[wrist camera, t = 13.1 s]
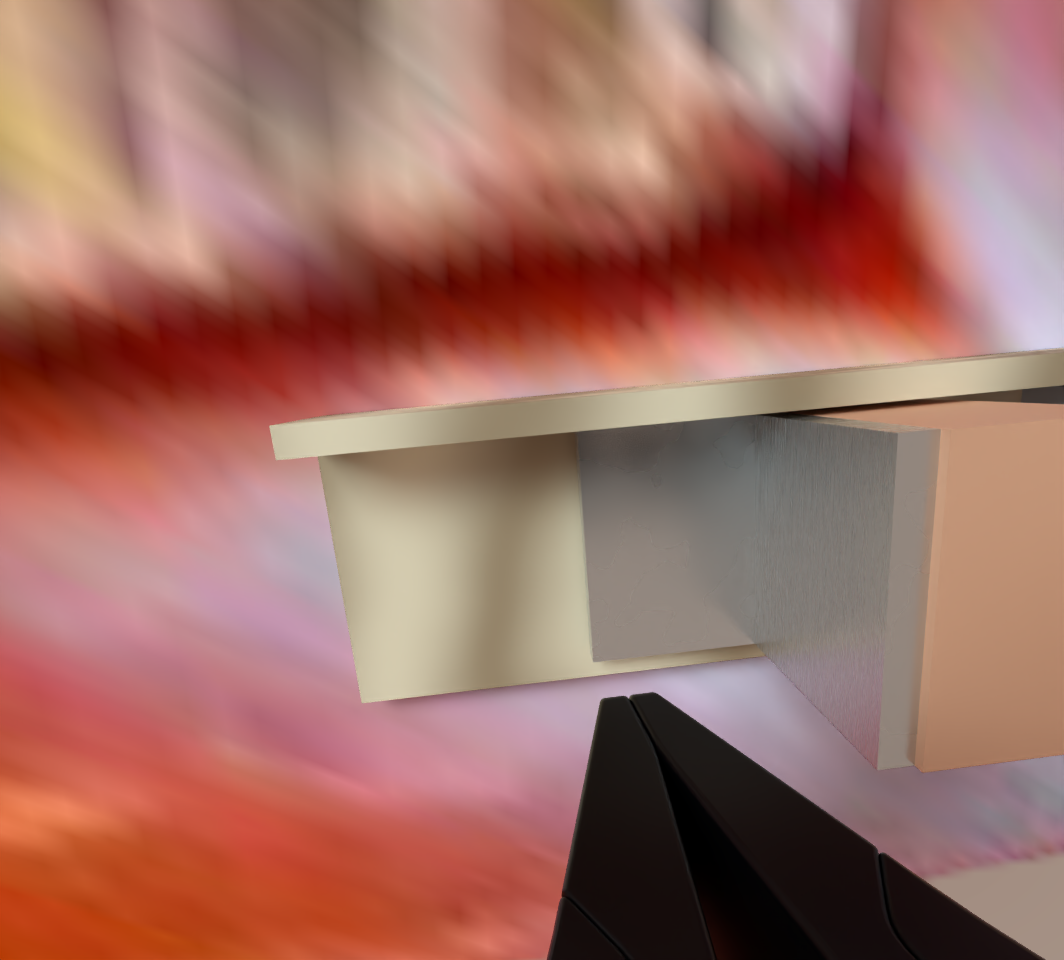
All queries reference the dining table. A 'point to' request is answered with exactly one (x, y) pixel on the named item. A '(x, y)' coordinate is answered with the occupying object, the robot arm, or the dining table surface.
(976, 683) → the terracotta book
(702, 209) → the dining table surface
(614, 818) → the robot arm
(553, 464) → the beige piece
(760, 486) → the bookend
